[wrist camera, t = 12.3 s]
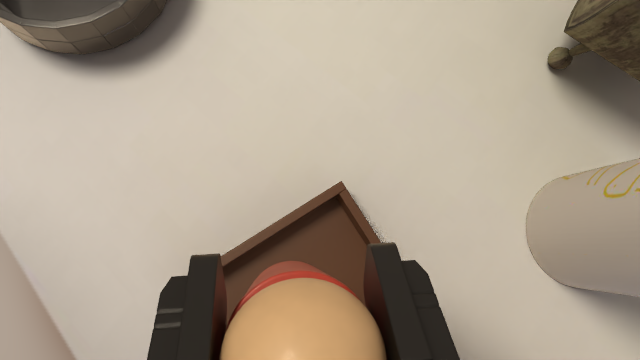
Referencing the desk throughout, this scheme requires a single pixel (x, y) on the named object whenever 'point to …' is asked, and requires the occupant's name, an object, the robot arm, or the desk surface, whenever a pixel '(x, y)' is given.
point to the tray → (305, 245)
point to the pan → (78, 22)
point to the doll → (301, 319)
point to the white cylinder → (590, 229)
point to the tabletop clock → (604, 34)
